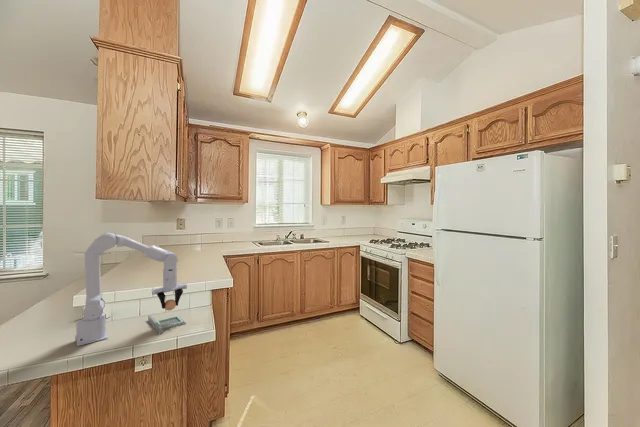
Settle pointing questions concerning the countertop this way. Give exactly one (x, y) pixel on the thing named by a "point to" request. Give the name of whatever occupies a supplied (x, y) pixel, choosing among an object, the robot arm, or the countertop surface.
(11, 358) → the countertop surface
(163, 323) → the pad
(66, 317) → the countertop surface
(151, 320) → the acrylic wall
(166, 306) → the ball
